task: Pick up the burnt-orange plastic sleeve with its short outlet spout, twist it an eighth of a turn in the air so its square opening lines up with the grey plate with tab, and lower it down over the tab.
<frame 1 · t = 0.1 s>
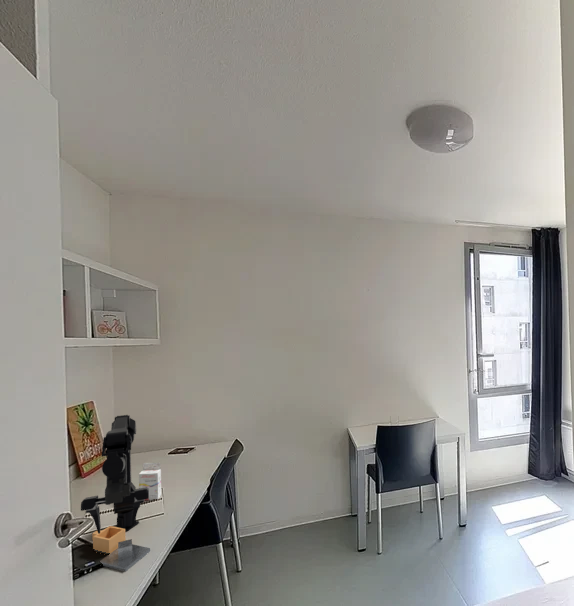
hand: (116, 529, 113), 15 cm above the table, tool pointing down, fingers open, 9 cm apart
ink cartridge box: (150, 498, 168), on the table
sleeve: (109, 547, 131), on the table
grey plate with tab: (125, 557, 124), on the table
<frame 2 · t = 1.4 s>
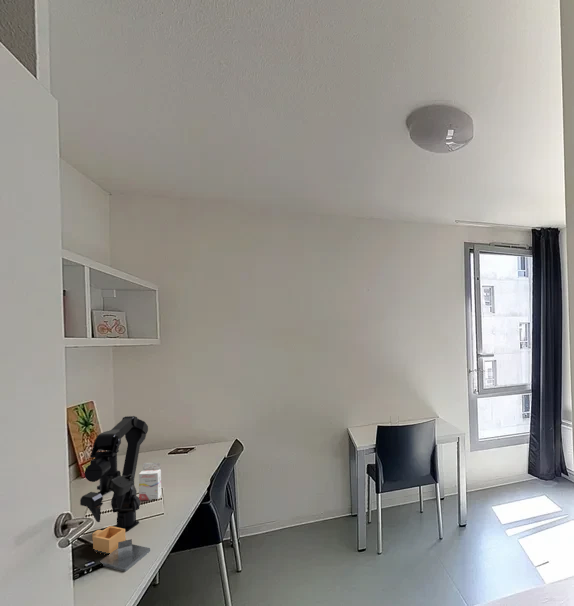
hand: (109, 515, 132), 11 cm above the table, tool pointing down, fingers open, 9 cm apart
nothing on the table moved.
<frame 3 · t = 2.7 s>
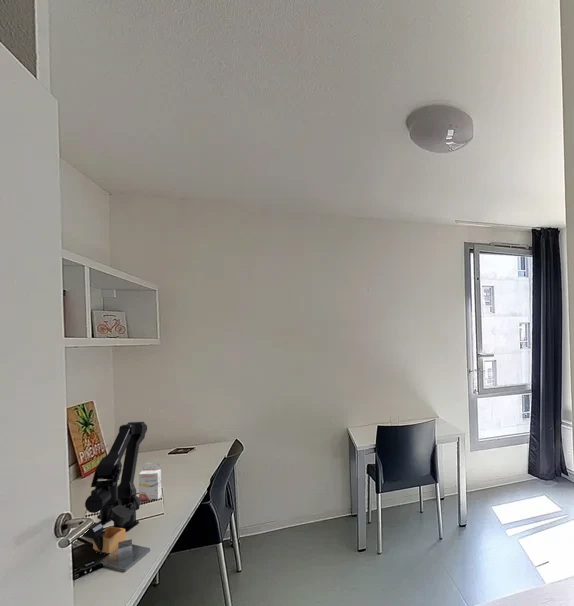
hand: (109, 544, 131), 1 cm above the table, tool pointing down, fingers closed on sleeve, 7 cm apart
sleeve: (109, 547, 131), on the table, touching gripper
everything else where it was.
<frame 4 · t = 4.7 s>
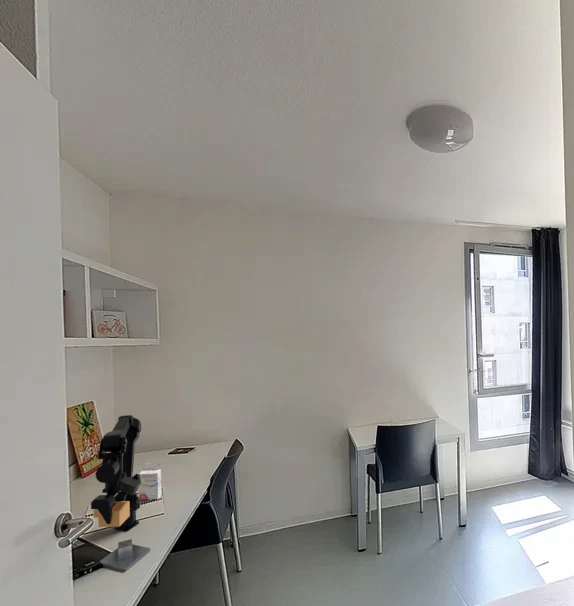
hand: (114, 518, 129), 11 cm above the table, tool pointing down, fingers closed on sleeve, 7 cm apart
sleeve: (114, 521, 129), point 10 cm above the table, touching gripper
everything else where it was.
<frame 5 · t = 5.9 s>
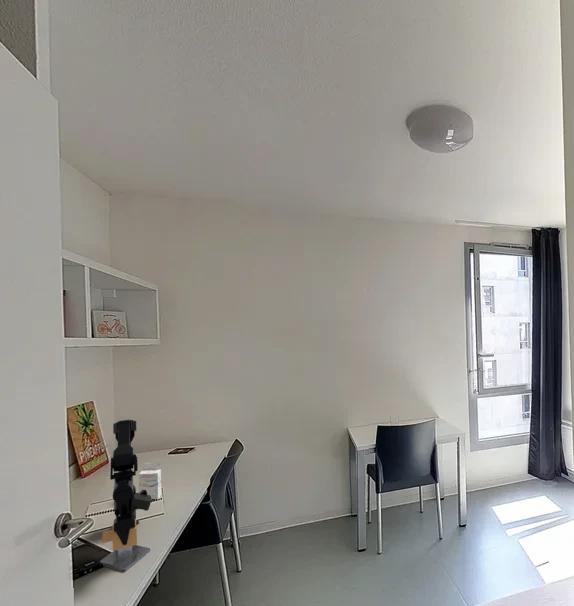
hand: (124, 538, 125), 6 cm above the table, tool pointing down, fingers closed on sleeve, 7 cm apart
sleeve: (124, 541, 125), point 5 cm above the table, touching gripper
everything else where it was.
when the fingers open (3 cm above the table, at t = 7.0 s): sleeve drops 1 cm, resting on grey plate with tab.
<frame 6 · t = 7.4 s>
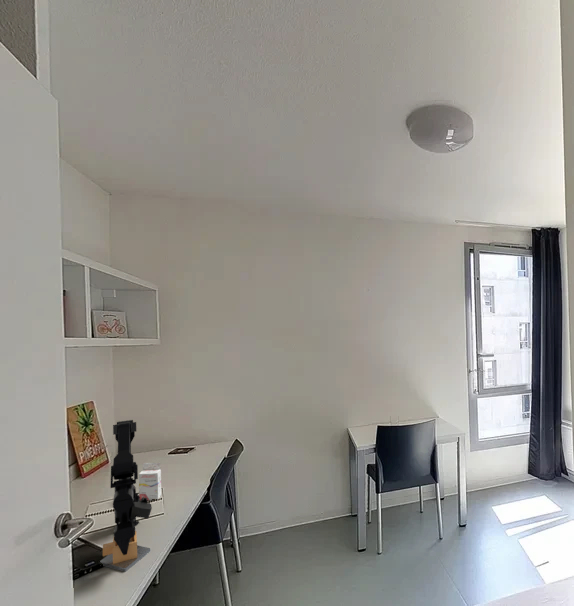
hand: (125, 546, 125), 3 cm above the table, tool pointing down, fingers open, 9 cm apart
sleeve: (125, 554, 125), point 1 cm above the table, touching grey plate with tab
everything else where it was.
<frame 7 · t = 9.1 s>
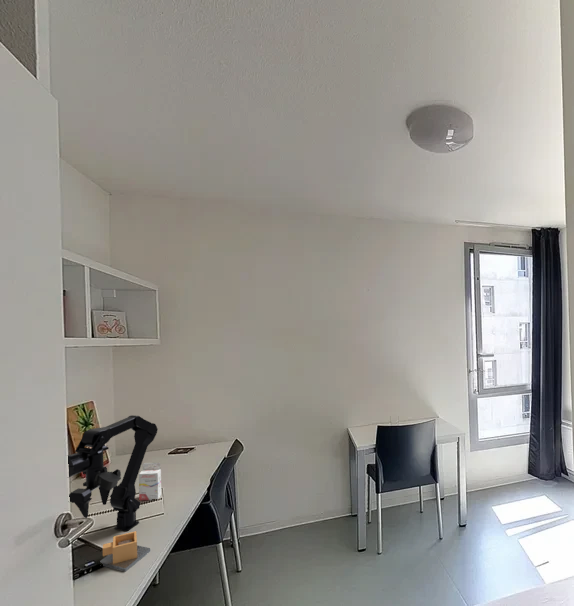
hand: (95, 510, 133), 12 cm above the table, tool pointing down, fingers open, 9 cm apart
nothing on the table moved.
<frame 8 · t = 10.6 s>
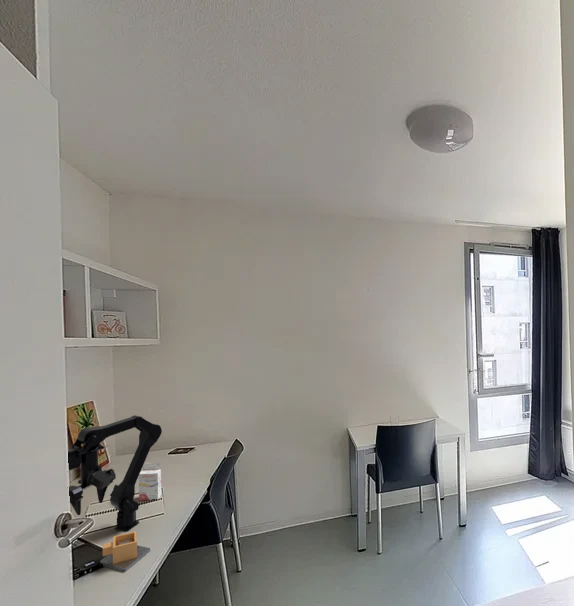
hand: (90, 508, 135), 12 cm above the table, tool pointing down, fingers open, 9 cm apart
nothing on the table moved.
at the end: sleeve 0.1 cm off-centre on the grey plate with tab, point 1.0 cm above the grey plate with tab's base; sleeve tilted 0°; the gripper is holding nothing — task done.
